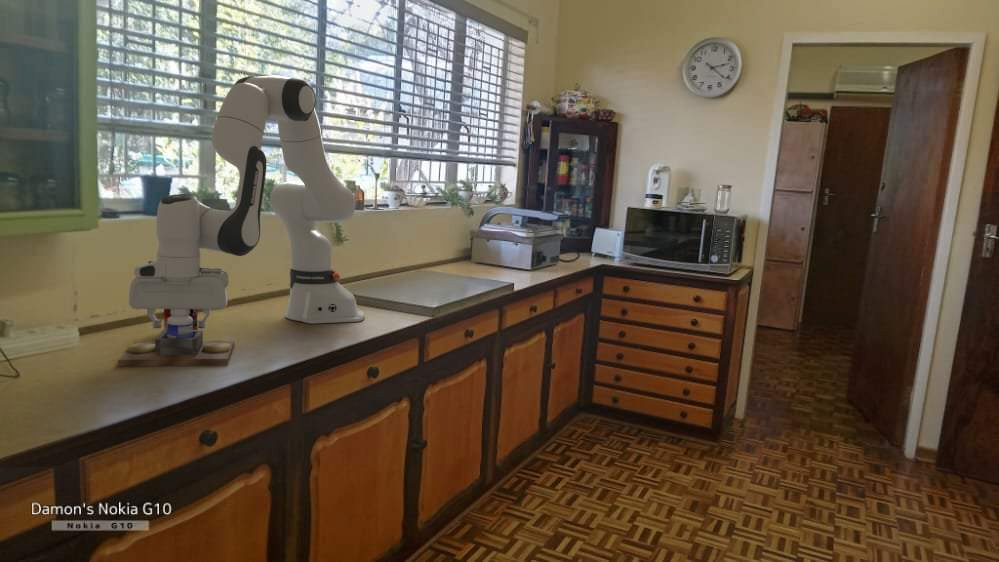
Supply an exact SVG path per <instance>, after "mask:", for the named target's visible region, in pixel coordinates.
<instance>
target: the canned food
mask: <svg viewBox="0 0 999 562" xmlns="http://www.w3.org/2000/svg"><path fill="white" fill-rule="evenodd" d="M170 312H171V309H163V321H164V323H163V324H164V325H163V327H164V329H163V330H167V319H168V318H169V317H171V316H172V315H171V313H170ZM189 316H190V317H192V319H193V330H199V328H198V325H199V324H198V321H199V319H198V309H190V314H189Z"/></svg>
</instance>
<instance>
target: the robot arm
mask: <svg viewBox="0 0 999 562" xmlns="http://www.w3.org/2000/svg"><path fill="white" fill-rule="evenodd" d="M316 99H317V98H316V93H315V90H314V89H313V87H312V85H311V84H310V83H309V82H308V81H307V80H305V79H304V78H298V77H294V76H292V77H288V76H281V75H264V76H263V75H262V76H244V77H241V78H240V79H238V80H237V81H235V83H234V84H233V86H231V88H230V90H229V91H228V93H227V94H226V96H225V98H224V100H223V102H222V103H221V106H220V109H219V111H218V113H217V116H216V119H215V123H214V126H213V128H212V132H211V144H212V146H213V149H214V150H215V153H217V154H218V156H219V157H220V158H221V159H222V160H224V161H226V162H227V163H229V164H230V165H232V166H234V167H236V168H237V170H238V173H239V180H238V187H237V194H236V199H235V203H234V204H235V205H234V207H233V208H232V209H230V210H223V209H217V208H211V207H209V206H207V205H206V204H203V203H202V202H200V201H199V200H197V196H195V195H193V194H191V193H179V194H176V193H175V194H170V195H167V196H164V197H163V198H162V199H160V200H159V201H160V202H159V203H158V207H157V211H156V237H157V240H158V248H157V251H156V259H154V260H149V261H146V262H142V263H139V264H138V265H137V266H135V268H134V270H133V273H134V276H135V278H133V279H132V281H131V282H130V287H129V293H128V305H129V306H130V307H131V308H132V309H133V310H138V309H140V310H146V314H147V316H148V317H149V319H150V320H151V322H152V329H161V328H162V319H161V318H159V319H158V318H157V316H156V315H155V313H156V310H164V309H197V310H203V314H204V317H203V318H202V319H198V329H206V327H207V319H208V318H209V316H211V313H212V310H223V309H225V308H226V307H227V306H228V292H227V287H228V285H229V274H228V273H227V272H226V270H222V268H220V267H219V268H218V267H216V268H210V267H201V251H200V249H201V250H208V251H211V252H212V251H213V252H221V253H225V254H228V255H233V256H236V257H243V256H246V255H248V254H249V253H250V252H251V251H253V250H254V249H255V248H256V246H258V243H259V242H260V237H261V211H262V204H263V198H264V190H265V184H266V174H267V157H266V156H267V155H266V154H265V152H264V151H263V150H262V140H263V136H264V133H265V129H266V126H267V125H266V124H267V122H268V121H274V122H276V121H277V129H278V136H279V141H280V146H281V151H282V156H283V161H284V165H285V167H286V168H287V169H288V170H289V171H290V172H292V173H293V174H294V175H295V176H297V177H298V178H299V180H300V181H297V180H294V181H293V180H291V181H284V182H279V183H276V184H275V186H273V188H272V190H270V191H271V192H270V195H269V204H270V207H271V210H272V211H273V213H274V214H275V215H276V216H277V217H278V218H279V219H280V220H281V221H282V224H283V225H284V226H285V228H286V231H287V233H288V236H289V240H290V248H291V268H290V269H289V270H290V271H289V280H288V281H289V288H290V291H289V300H288V304H287V308H286V310H285V311H286V312H285V315H284V316H285V318H286V319H288V320H292V321H298V322H303V323H306V324H329V323H332V324H333V323H352V322H353V323H355V322H361V321H363V320H364V319H365V314H364V312H363V311H362V310H360V309H359V308H358V306H357V305H358V304H357V301H356V298H355V296H354V293H352V292H350V291H349V290H348V289H347V288H345V286H343V285H342V284H341V283H339V282H338V281H339V279H340V278H341V275H340V273H339V272H337V271H336V270H334V269H333V268H332V243H331V242H330V241H331V240H329V238H327V237H326V236H325V235H323V234H322V233H321V232H320V230H319V229H318V226H317V223H326V224H328V223H330V224H335V223H342V222H343V223H344V222H348V221H349V220H350V219H351V218H352V216H353V215H354V214H355V211H356V207H357V206H356V204H357V203H356V197H355V195H354V192H353V191H352V190H351V189H350V188H348V187H347V186H345V185H344V184H343V182H341V181H340V180H339V179H338V177H337V176H336V175H335V173H334V171H333V170H332V169H331V167H330V164H329V162H328V159H327V156H326V152H325V147H324V143H323V142H324V141H323V137H322V132H321V131H322V130H321V127H320V122H319V118H318V114H317V112H316V109H315V107H316V103H317V101H316Z"/></svg>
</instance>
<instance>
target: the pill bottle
mask: <svg viewBox="0 0 999 562" xmlns="http://www.w3.org/2000/svg"><path fill="white" fill-rule="evenodd" d="M170 313H171V315H172V316H171V317H169V318H168V319H167V338H193V319H192V317H190V316H189V314H190V309H171V312H170Z"/></svg>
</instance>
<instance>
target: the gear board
mask: <svg viewBox="0 0 999 562" xmlns="http://www.w3.org/2000/svg"><path fill="white" fill-rule="evenodd" d="M203 333H204V332H203V329H198V330H193V338H167V330H164V329H163V330H161V332H160V333H159V334H158V335H157V336H156V338H155V340H134V341H133V342H132V344H130V345H128V346H127V347H126V350H125V352H124V353H122V355H121V356H120V357H118V360H117V367H119V368H121V367H122V368H126V367H127V368H128V367H130V368H131V367H133V368H134V367H192V366H193V367H194V366H195V367H197V366H200V367H203V366H206V367H207V366H208V367H209V366H228V365H229V362H230V360H231V358H232V354H233V352H234V349H235V346H236V344H235V343H236V341H235V340H204V334H203Z"/></svg>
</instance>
